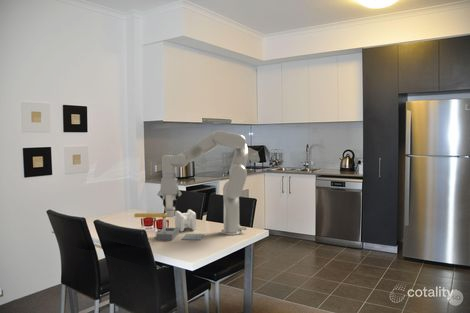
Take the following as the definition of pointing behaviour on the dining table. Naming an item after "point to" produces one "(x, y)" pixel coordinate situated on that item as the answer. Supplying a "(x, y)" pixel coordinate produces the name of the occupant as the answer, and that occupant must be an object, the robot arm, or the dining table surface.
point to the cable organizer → (185, 220)
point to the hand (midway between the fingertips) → (169, 206)
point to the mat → (193, 237)
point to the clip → (150, 215)
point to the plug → (169, 205)
